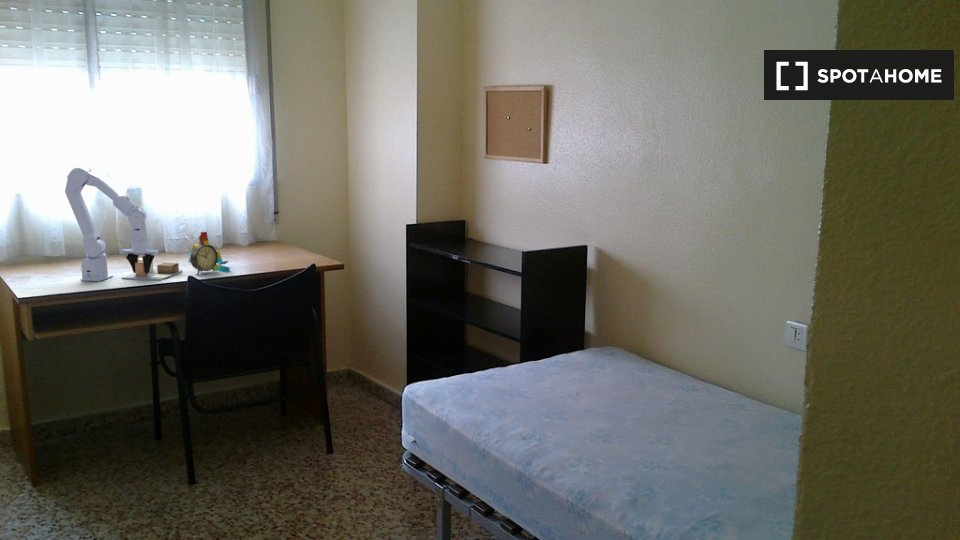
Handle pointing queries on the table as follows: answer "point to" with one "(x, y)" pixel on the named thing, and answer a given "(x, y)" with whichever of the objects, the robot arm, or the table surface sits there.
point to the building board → (151, 276)
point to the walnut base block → (168, 268)
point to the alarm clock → (204, 257)
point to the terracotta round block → (140, 269)
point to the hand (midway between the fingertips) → (141, 272)
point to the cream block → (150, 266)
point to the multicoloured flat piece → (219, 261)
